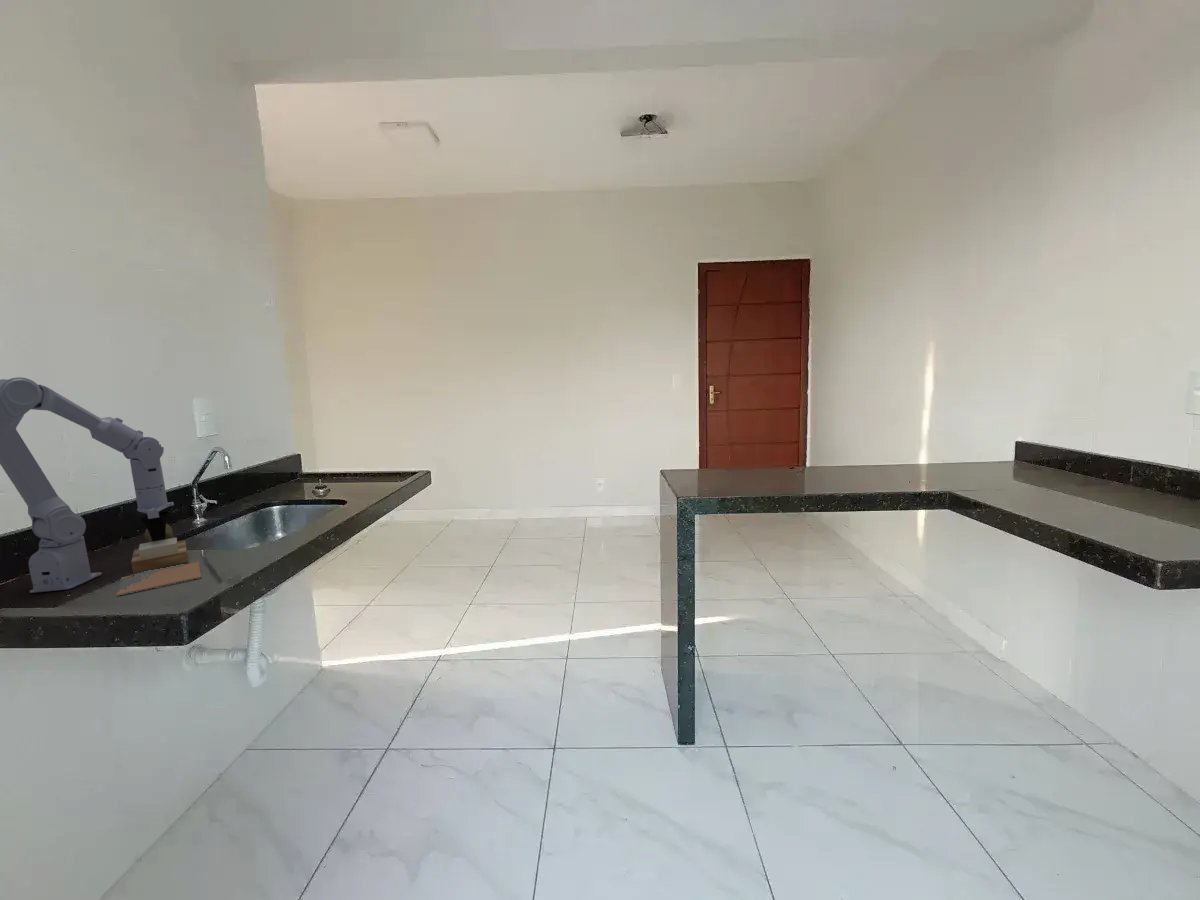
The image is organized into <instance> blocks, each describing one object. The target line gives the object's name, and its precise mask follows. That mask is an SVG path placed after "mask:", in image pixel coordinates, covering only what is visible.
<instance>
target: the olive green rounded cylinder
mask: <svg viewBox="0 0 1200 900" xmlns="http://www.w3.org/2000/svg"><path fill="white" fill-rule="evenodd" d="M170 538H176V537H175V536H174V531H173V528H172V526H170V525H169V524H168V523H166V535H165V539H170ZM144 539H145V540H146V543H148V542H153V541H152V539H151V536H150V534H149V531H148V529H147V528H146V529H145V531H144Z"/></svg>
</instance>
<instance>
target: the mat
mask: <svg viewBox="0 0 1200 900" xmlns="http://www.w3.org/2000/svg"><path fill="white" fill-rule="evenodd" d="M180 566H181V565H180ZM173 568H174V567H172V569H171V568H166V569H161V570H160V571H159V570H157V571H158V572H157V571H156V572H157V573H156V572H155V573H154V574H153V573H152V574H153V575H152V574H151V575H150V576H149V574H148V575H147V574H146V575H147V576H149V577H148V579H147V578H146V579H145V577H147V576H145V577H144V576H143V575H142V576H143V577H144V579H142V578H143V577H142V578H141V579H142V580H141V582H139V581H138V582H139V583H138V582H137V583H135V584H134V583H133V584H134V585H133V584H131V585H130V586H127V589H126V590H125V589H123V590H122V589H121V590H120V591H119V592H116V596H117V595H120V594H125V593H130V592H136V591H140V590H146V589H151V588H155V589H157V588H156V587H160V588H163V587H162V586H164V587H167V586H166V585H169V586H171V585H170V584H174V583H178V582H183V581H188V582H190V581H189V580H192V581H195V580H194V579H197V580H201V579H202V572H201V568H200V562H199V561H196V562H195V561H194V562H191V563H188V564H185V565H182V566H181V567H177V568H176V567H175V568H174V569H173ZM130 576H133V574H132V575H127V576H123V577H121V578H120V581H121V580H122V579H124V578H127V577H130ZM200 578H201V579H200ZM120 581H119V582H120ZM183 583H184V582H183ZM178 584H179V583H178ZM174 585H175V584H174ZM151 590H152V589H151ZM146 591H147V590H146Z"/></svg>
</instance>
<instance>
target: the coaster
mask: <svg viewBox="0 0 1200 900" xmlns="http://www.w3.org/2000/svg"><path fill="white" fill-rule="evenodd" d="M177 541H178V538H177V537H175V538H170V539H165V540H159V541H154V542H144V543H139V546H138V549H139V556H140V559H142V558H148V557H153V556H158V555H163V554H168V553H174V552H178V543H177Z"/></svg>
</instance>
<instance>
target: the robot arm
mask: <svg viewBox="0 0 1200 900" xmlns="http://www.w3.org/2000/svg"><path fill="white" fill-rule="evenodd" d="M30 410H35V411H47V412H51V413H53V414H55V415H58V416H60V417H61V418H64V419H66V420H67V421H69V422H72V423H74V424H76V425H78V426H80V427H83V428H85V429H86V430H89V433H90V435H91V439H94V440H96V441H97V442H100V443H101V444H103V445H106V446H108V447H109V448H112V449H113V450H115V451H117V452H118V453H122V454H123V456H124V457H125V458H126V460H129V463H130V470H131V471H130V472H131V475H132V476H131V477H132V482H133V487H134V488H133V489H134V492H135V499H136V505H137V508H136V510H137V512H140V513H144V514H142V515H140V516H139V520H140V521H141V522H142V523H143V525H144V527H146V529H148V531H149V534H150V536H151V539H152V541H153V542H154V541H159V540H165V535H166V524H167V521H168V518H169V515H170V511H169V510H165V509H166V508H169V507H173V506H175V504H174V501H169V502H168V497H167V492H166V485H165V480H164V474H163V468H162V464H161V457H162V456H163V454H164V450H165V449H164V446H162V445H161V444H160V441H158V439H156V438H154V437H150V436H144V431H142V430H140V429H139V430H136V429H134V428H132V427H130V426H128V425H126V424H124V423H123V422H124V420H123V419H121V418H119V417H111V416H108V417H107V416H106V417H100V416H97V414H96V415H95V414H94V413H92V412H91V411H89V410H88V409H85V408H83V407H82V406H80V405H79V404H77V403H76V402H73V401H72V400H70V399H68V398H67V397H65V396H63V395H61V394H59V393H58V392H57V391H55V390H53V389H52V388H49V387H48V386H45V385H42V384H38V383H37V382H36V381H34V380H32V379H30V378H28V377H21V376H20V377H19V376H18V377H17V376H16V377H11V378H9V379H6V378H5V379H0V466H1V467H2V470H4V472H5V474H6V475H7V477H8V478H9V480H10V481H11V484H13V485H14V487H15V489H16V491H17V493H19V496H20V497H21V498H22V500H23V501H24V502H25V504H26V506H27V514H28V517H30V519H31V530H32V532H33V534H34V535H35V536H36V537H38V538H39V539H40V540H39V541H38V542H39V543H38V547H39V548H38V550H37V551H35V552H34V553H33V554H31V556H30V558H29V559H28V568H29V569H28V570H29V574H30V578H31V583H32V589H30V590H29V594H32V593H33V594H35V593H43V592H52V591H62V590H63V591H64V590H71V589H73V588H76V587H77V586H80V585H82V584H84V583H86V582H88V581H91V580H93V579H94V578H98V577H99V576H101V575H102V574H103V572H100V571H98V572H92V571H91V568H90V567H91V566H90V561H89V557H88V552H87V551H88V550H87V546H86V542H85V537H84V534H85V532H86V529H87V523H86V521H85V519H84V518H83V517H82V516H81V515H79V514H77V513H75V512H74V511H73V510H72V509H71V507H70V505H69V504H67V503H66V502H65V500H63V499H62V498H61V497H60V496H59V495H58V494H57V492H56V490H55V489H54V487H53V486H52V484H51V483H50V481H49V479H48V478H47V476H46V475H45V473H44V471H43V470H42V468H41V467H40V465H39V463H38V462H37V460H36V459H35V457H34V455H33V454H32V452H31V450H30V449H29V448H28V446H27V445H26V443H25V441H24V440H23V438H22V436H21V435H20V433H19V431H18V430H17V428H18V425H20V423H21V420H22V419H23V418H24V415H26V414H27V413H28V412H29V411H30Z"/></svg>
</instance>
